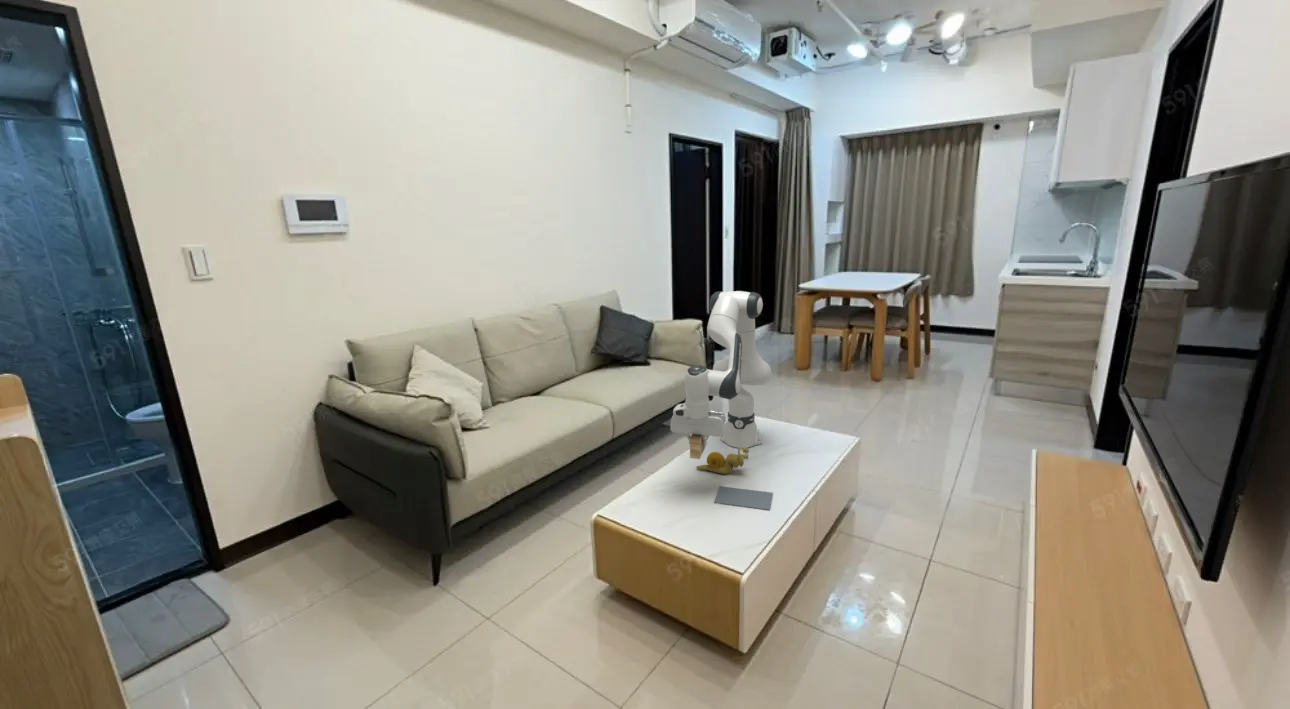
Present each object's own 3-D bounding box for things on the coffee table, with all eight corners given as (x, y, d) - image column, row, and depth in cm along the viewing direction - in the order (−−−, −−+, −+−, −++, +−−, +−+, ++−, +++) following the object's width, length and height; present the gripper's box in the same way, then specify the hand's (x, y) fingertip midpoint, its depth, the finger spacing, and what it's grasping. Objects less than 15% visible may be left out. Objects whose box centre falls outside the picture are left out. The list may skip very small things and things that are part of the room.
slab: (696, 446, 204) (696, 427, 201) (705, 447, 202) (705, 428, 200) (690, 458, 194) (689, 438, 192) (699, 459, 193) (699, 438, 191)
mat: (719, 486, 204) (719, 486, 204) (772, 493, 198) (772, 492, 198) (713, 503, 193) (713, 502, 193) (769, 510, 187) (769, 509, 187)
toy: (748, 477, 210) (748, 454, 207) (695, 474, 214) (695, 451, 212) (748, 468, 218) (748, 446, 215) (697, 465, 222) (697, 443, 219)
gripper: (727, 409, 193) (726, 443, 197) (673, 404, 200) (674, 438, 204) (724, 415, 188) (724, 451, 191) (668, 410, 194) (669, 445, 198)
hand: (697, 444), depth 198 cm, fingers closed on slab, 3 cm apart
